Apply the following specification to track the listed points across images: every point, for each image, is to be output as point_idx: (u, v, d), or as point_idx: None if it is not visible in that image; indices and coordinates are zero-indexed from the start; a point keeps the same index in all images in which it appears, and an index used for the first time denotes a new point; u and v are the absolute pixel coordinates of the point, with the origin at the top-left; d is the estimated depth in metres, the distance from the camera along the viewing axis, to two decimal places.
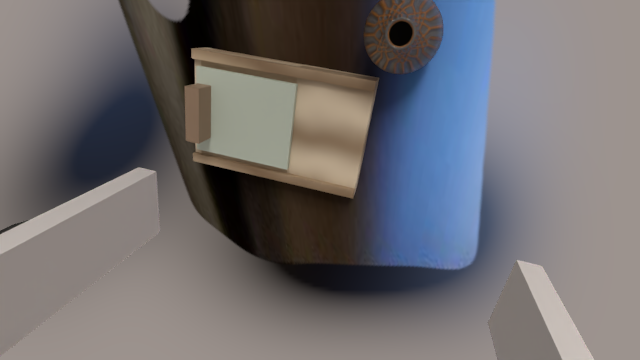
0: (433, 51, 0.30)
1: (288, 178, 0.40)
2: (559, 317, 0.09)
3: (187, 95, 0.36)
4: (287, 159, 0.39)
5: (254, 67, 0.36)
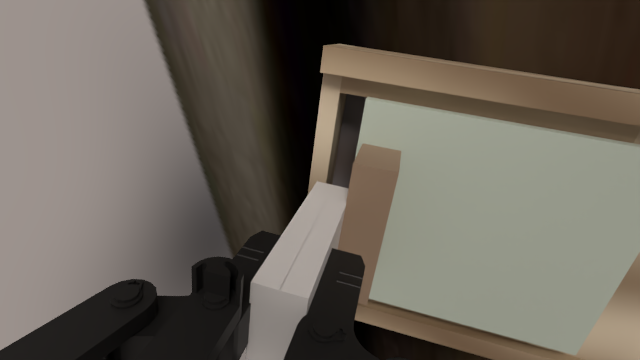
0: None
1: None
2: (333, 214, 0.12)
3: (358, 186, 0.12)
4: (585, 334, 0.15)
5: (516, 98, 0.13)
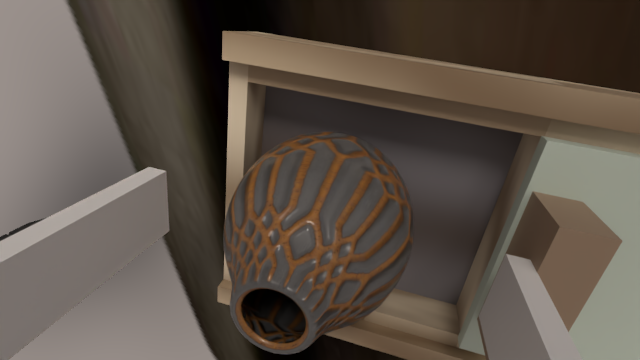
0: None
1: None
2: (545, 308, 0.09)
3: (559, 254, 0.10)
4: None
5: (419, 87, 0.12)
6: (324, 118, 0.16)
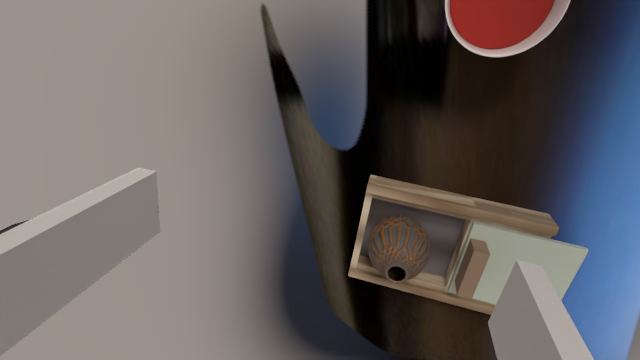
0: (422, 270, 0.38)
1: (447, 298, 0.42)
2: (559, 317, 0.09)
3: (474, 258, 0.36)
4: None
5: (431, 205, 0.38)
6: (395, 206, 0.42)
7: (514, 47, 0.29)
